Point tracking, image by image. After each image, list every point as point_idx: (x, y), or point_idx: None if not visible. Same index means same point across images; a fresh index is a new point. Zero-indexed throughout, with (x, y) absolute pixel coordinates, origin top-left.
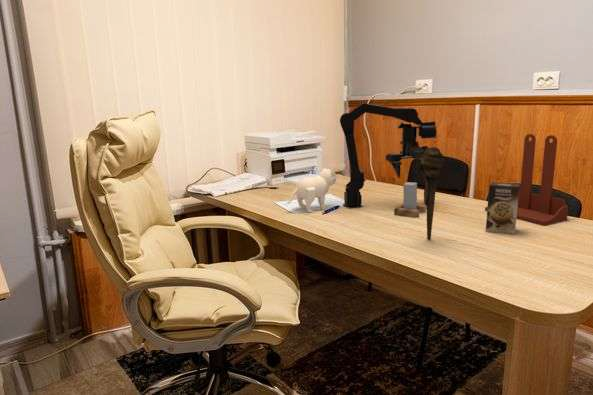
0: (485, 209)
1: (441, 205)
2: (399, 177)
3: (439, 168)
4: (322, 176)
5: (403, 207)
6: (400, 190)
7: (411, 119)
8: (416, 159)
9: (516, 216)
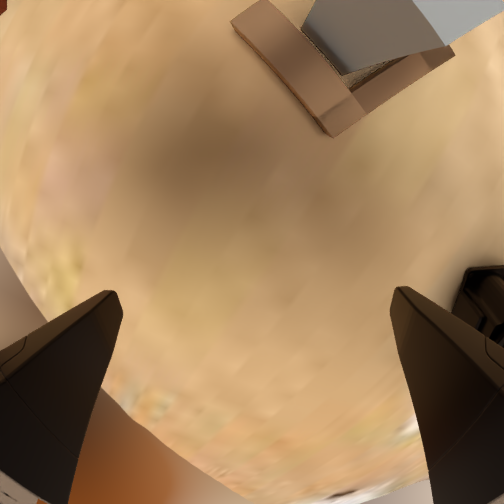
0: (2, 7)
1: (87, 125)
2: (404, 287)
3: None
4: None
5: (374, 75)
6: (165, 407)
7: None
8: (54, 492)
9: None
